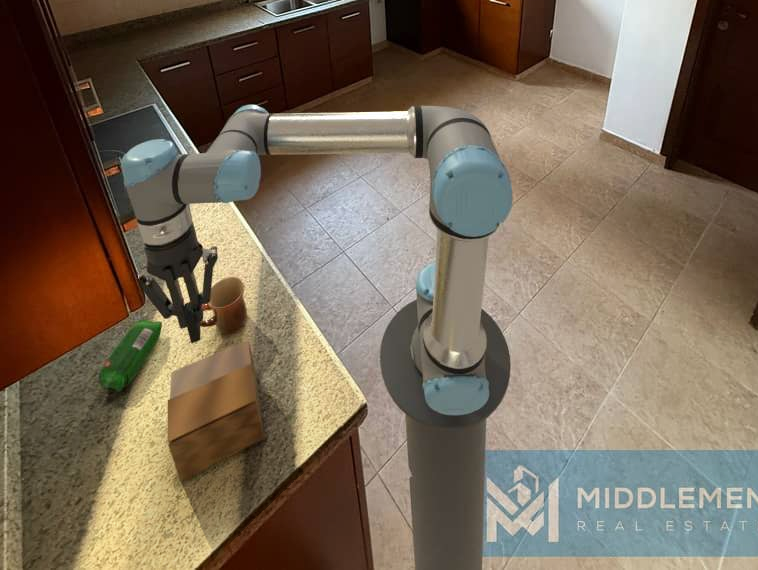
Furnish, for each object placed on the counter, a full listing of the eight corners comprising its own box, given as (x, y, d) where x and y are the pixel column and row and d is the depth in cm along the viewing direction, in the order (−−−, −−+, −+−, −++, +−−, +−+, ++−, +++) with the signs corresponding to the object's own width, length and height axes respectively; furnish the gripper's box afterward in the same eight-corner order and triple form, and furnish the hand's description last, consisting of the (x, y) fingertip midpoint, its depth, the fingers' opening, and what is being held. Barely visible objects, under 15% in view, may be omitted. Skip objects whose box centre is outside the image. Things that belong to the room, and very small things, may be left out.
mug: (244, 300, 114) (238, 271, 111) (255, 325, 107) (249, 294, 104) (196, 327, 107) (188, 297, 104) (205, 355, 100) (196, 323, 97)
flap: (250, 364, 86) (250, 363, 86) (255, 400, 81) (255, 399, 81) (168, 400, 80) (167, 400, 80) (168, 442, 75) (167, 441, 75)
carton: (256, 375, 96) (248, 339, 92) (264, 438, 84) (255, 400, 81) (182, 409, 90) (171, 371, 86) (180, 481, 79) (167, 441, 75)
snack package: (170, 328, 107) (165, 313, 106) (125, 397, 93) (119, 380, 91) (144, 326, 108) (139, 311, 107) (95, 394, 93) (89, 377, 92)
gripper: (118, 261, 64) (153, 371, 72) (211, 232, 69) (235, 337, 77) (125, 228, 71) (157, 332, 78) (210, 203, 76) (232, 303, 83)
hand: (195, 335), depth 77 cm, fingers closed
